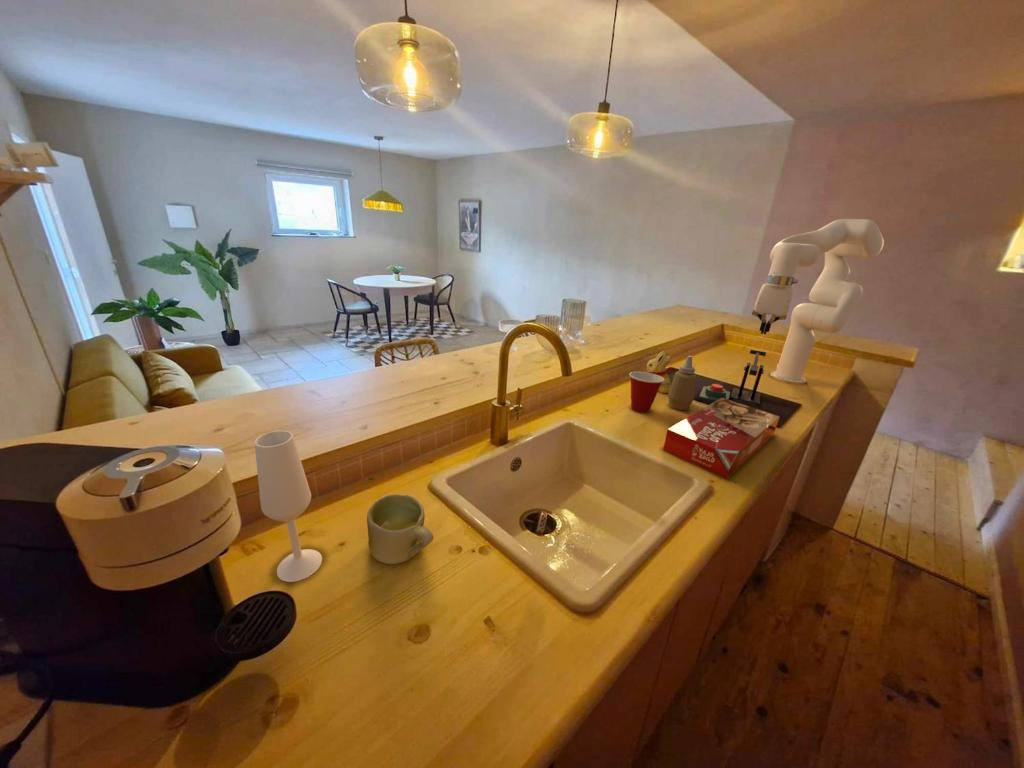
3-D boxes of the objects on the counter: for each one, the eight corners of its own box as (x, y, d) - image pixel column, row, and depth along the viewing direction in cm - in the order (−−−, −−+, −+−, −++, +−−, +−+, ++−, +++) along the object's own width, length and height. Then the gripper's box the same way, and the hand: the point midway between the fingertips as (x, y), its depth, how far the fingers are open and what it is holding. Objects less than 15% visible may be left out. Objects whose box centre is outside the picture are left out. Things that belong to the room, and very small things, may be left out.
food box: (716, 415, 127) (721, 397, 125) (773, 435, 116) (779, 416, 113) (663, 449, 105) (667, 429, 103) (726, 478, 94) (733, 456, 91)
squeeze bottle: (693, 413, 127) (706, 361, 120) (667, 410, 129) (679, 358, 122) (688, 403, 135) (700, 354, 128) (663, 400, 136) (674, 351, 129)
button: (711, 387, 140) (712, 383, 139) (722, 390, 138) (723, 385, 138) (710, 390, 137) (711, 386, 137) (721, 393, 136) (722, 388, 135)
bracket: (732, 390, 148) (741, 358, 143) (759, 396, 144) (770, 364, 139) (730, 400, 139) (739, 366, 135) (758, 407, 135) (770, 372, 130)
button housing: (702, 391, 146) (704, 381, 145) (729, 397, 142) (731, 387, 140) (697, 401, 137) (700, 391, 135) (726, 408, 132) (729, 398, 131)
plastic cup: (659, 406, 131) (666, 373, 126) (655, 419, 122) (663, 384, 117) (626, 399, 135) (632, 367, 130) (620, 411, 126) (626, 377, 121)
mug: (345, 540, 67) (363, 493, 65) (395, 525, 75) (412, 483, 73) (381, 594, 60) (402, 545, 58) (431, 572, 69) (452, 527, 66)
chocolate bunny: (647, 382, 151) (654, 345, 146) (672, 392, 143) (681, 353, 138) (636, 386, 147) (643, 348, 142) (662, 396, 139) (671, 356, 134)
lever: (749, 352, 146) (751, 347, 144) (765, 355, 143) (766, 350, 142) (744, 373, 139) (745, 368, 137) (760, 376, 136) (762, 371, 135)
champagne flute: (315, 543, 69) (293, 422, 60) (327, 567, 64) (306, 441, 55) (272, 562, 65) (241, 435, 56) (282, 589, 60) (251, 456, 51)
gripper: (804, 283, 133) (787, 335, 140) (754, 278, 140) (740, 328, 147) (806, 285, 127) (788, 339, 134) (754, 279, 134) (739, 331, 141)
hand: (763, 333), depth 140 cm, fingers closed
